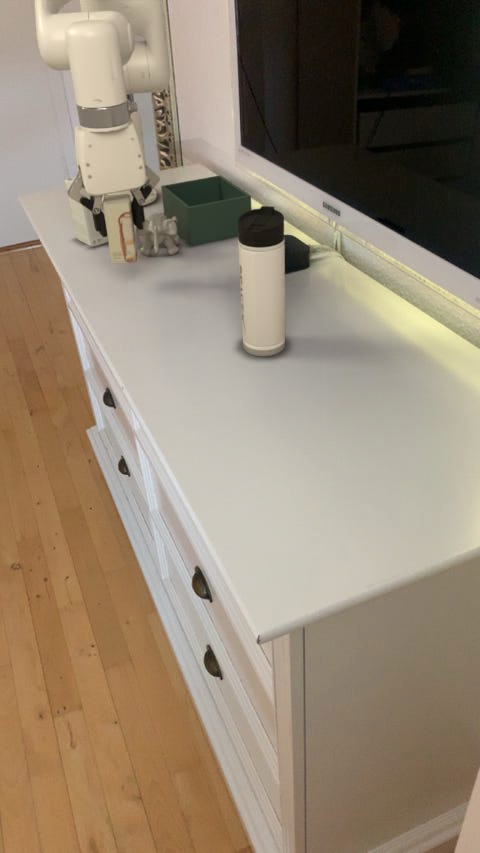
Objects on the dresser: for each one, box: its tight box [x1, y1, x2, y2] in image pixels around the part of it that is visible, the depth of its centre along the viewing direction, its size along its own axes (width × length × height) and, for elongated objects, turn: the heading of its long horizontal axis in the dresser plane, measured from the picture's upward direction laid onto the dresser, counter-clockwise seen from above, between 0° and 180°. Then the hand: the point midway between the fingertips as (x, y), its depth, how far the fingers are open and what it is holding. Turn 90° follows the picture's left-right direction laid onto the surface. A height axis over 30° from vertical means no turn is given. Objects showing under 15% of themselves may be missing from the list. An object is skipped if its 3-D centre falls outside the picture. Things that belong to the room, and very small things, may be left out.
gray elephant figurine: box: [135, 212, 181, 256], centre depth 131 cm, size 9×12×8 cm
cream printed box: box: [102, 194, 138, 264], centre depth 116 cm, size 5×4×10 cm
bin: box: [160, 174, 252, 247], centre depth 142 cm, size 15×13×8 cm
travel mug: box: [237, 205, 286, 357], centre depth 98 cm, size 6×7×20 cm
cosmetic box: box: [64, 176, 109, 248], centre depth 137 cm, size 6×4×12 cm
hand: (120, 229), depth 116 cm, fingers closed on cream printed box, 5 cm apart
